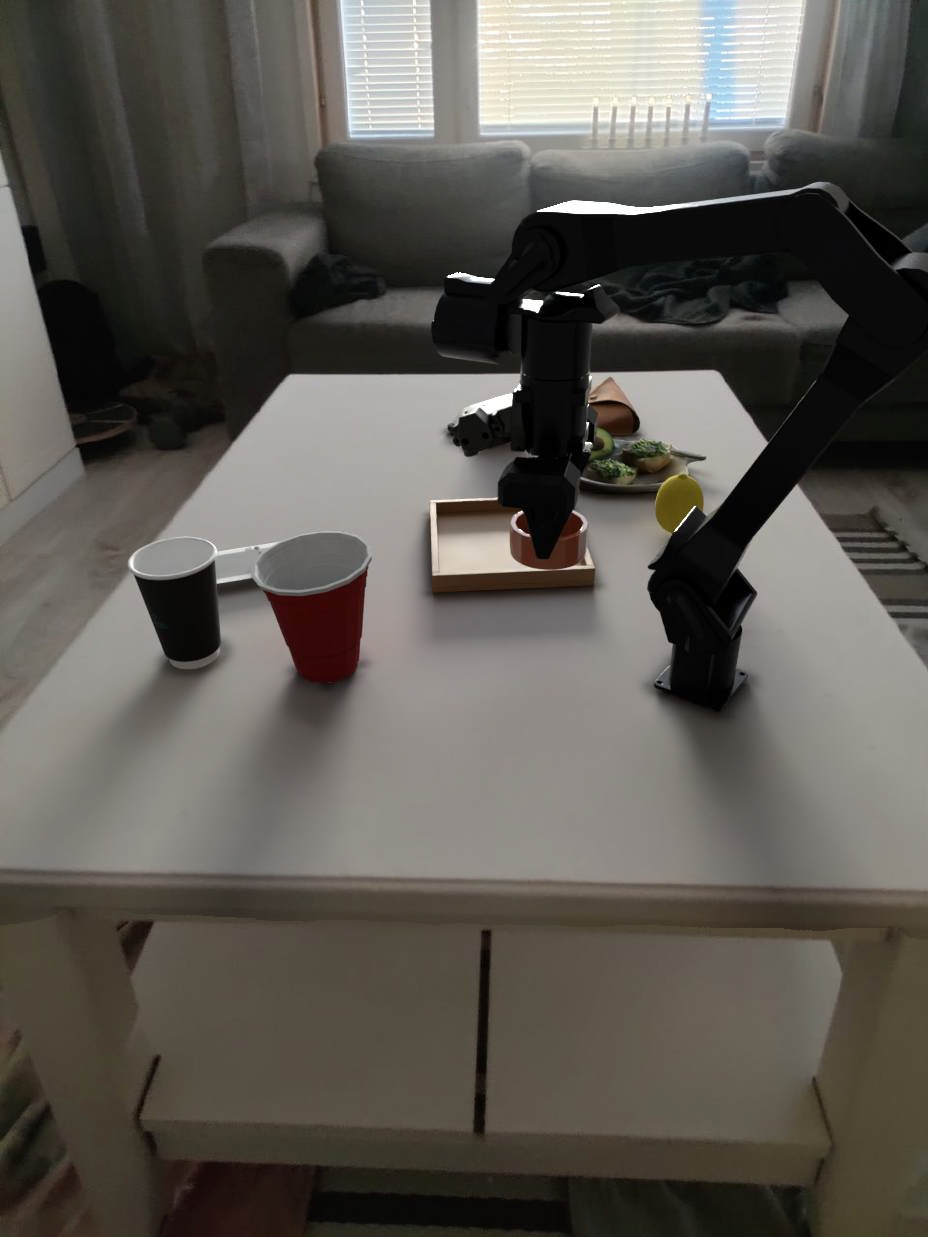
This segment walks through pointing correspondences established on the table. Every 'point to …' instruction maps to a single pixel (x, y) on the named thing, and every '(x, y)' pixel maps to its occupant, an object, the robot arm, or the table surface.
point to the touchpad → (237, 562)
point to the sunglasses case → (613, 409)
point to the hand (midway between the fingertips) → (548, 539)
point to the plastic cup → (318, 599)
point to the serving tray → (487, 551)
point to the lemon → (677, 501)
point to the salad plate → (632, 465)
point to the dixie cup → (181, 597)
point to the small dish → (565, 551)
